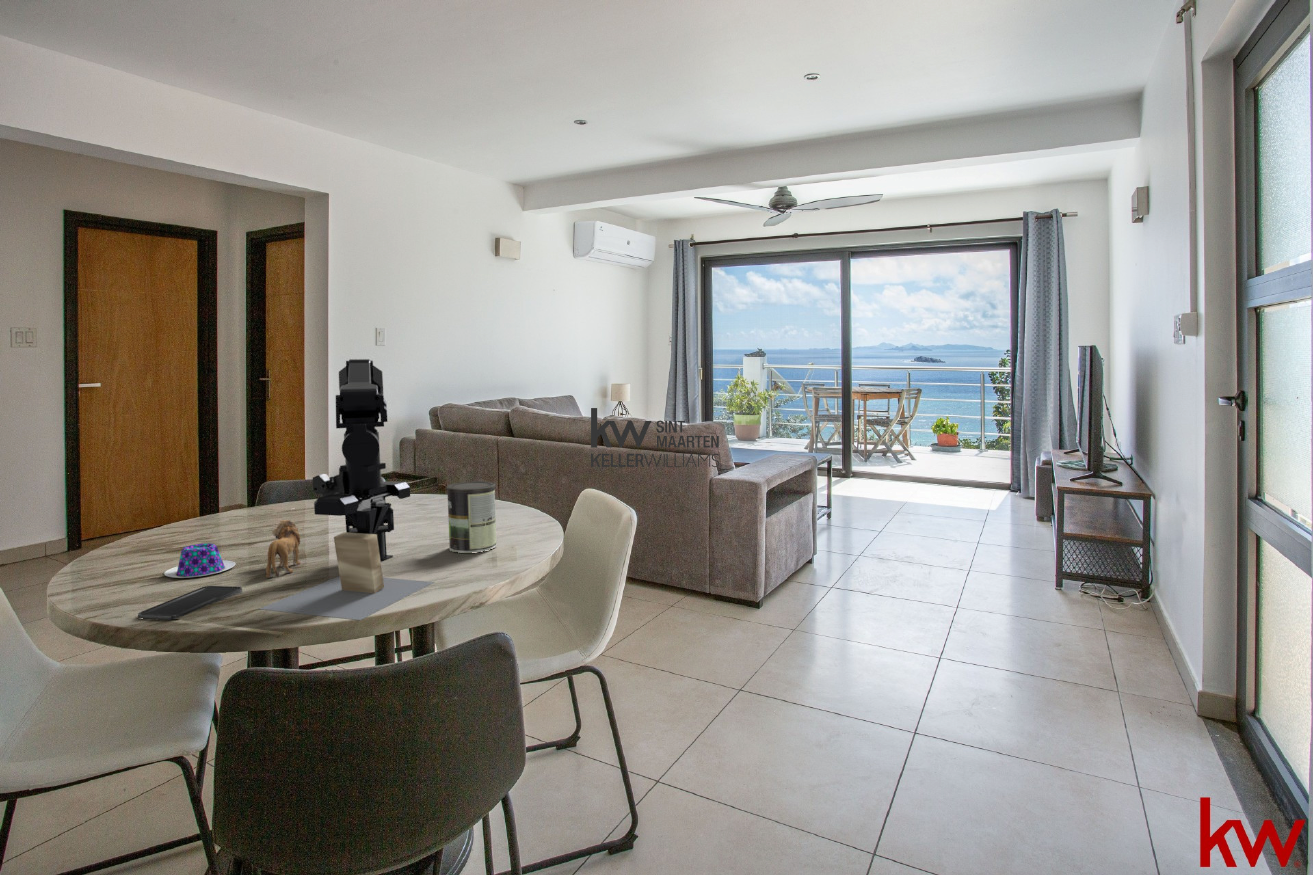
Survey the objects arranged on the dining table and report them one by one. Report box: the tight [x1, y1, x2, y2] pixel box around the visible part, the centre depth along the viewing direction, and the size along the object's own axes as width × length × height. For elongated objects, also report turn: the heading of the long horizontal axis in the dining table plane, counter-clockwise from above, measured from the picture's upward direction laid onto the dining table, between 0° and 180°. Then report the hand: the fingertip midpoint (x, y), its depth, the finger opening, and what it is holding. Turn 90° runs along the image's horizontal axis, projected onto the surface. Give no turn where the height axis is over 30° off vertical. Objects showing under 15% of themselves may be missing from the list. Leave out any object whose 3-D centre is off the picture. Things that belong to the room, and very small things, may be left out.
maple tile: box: [333, 531, 384, 593], centre depth 124 cm, size 2×7×10 cm, turn 73°
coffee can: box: [446, 480, 497, 554], centre depth 154 cm, size 10×10×14 cm
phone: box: [137, 585, 243, 622], centre depth 120 cm, size 8×1×15 cm
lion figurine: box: [265, 519, 301, 579], centre depth 140 cm, size 15×5×9 cm, turn 21°
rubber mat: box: [258, 575, 435, 621], centre depth 123 cm, size 20×20×1 cm
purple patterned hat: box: [163, 542, 236, 579], centre depth 140 cm, size 12×12×5 cm
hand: (367, 544), depth 126 cm, fingers closed
